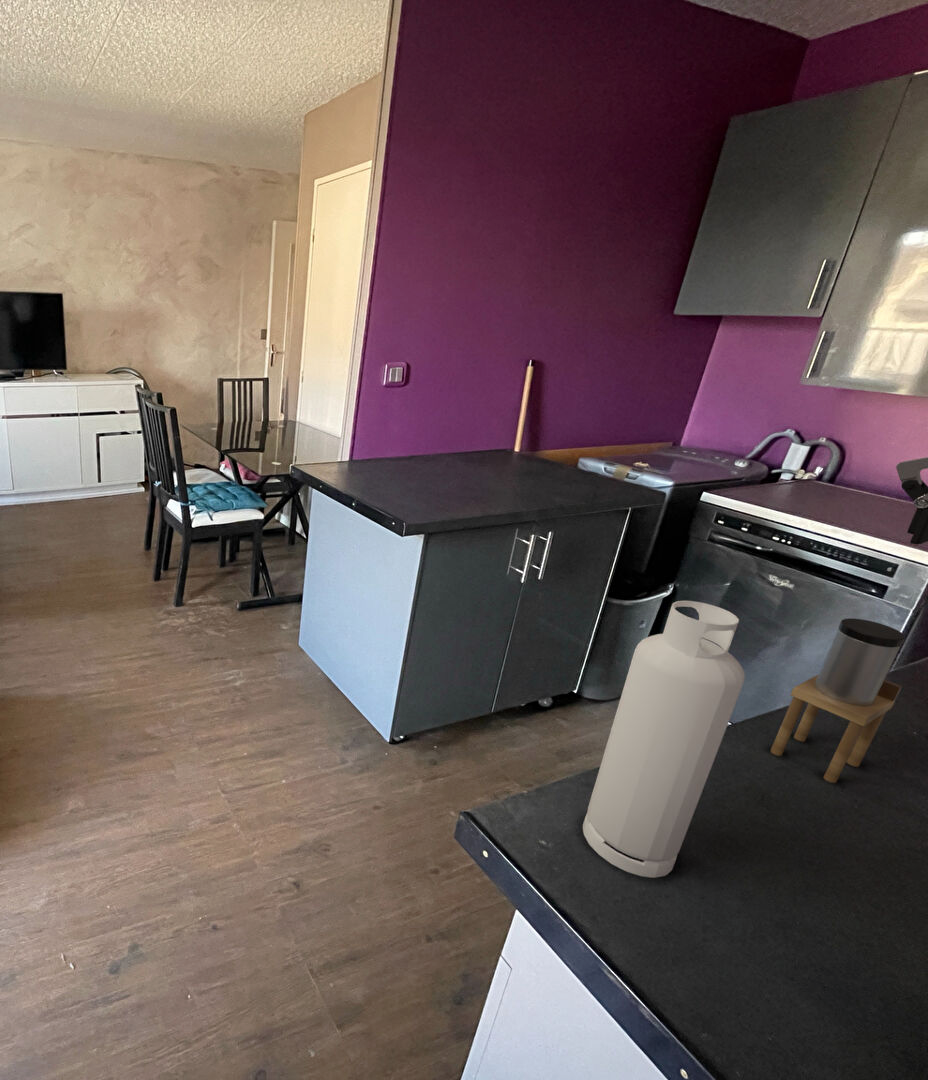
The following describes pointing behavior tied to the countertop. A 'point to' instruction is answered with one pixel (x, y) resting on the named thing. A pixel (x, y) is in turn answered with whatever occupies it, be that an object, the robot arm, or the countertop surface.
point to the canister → (858, 661)
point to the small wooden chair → (859, 716)
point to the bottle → (664, 740)
